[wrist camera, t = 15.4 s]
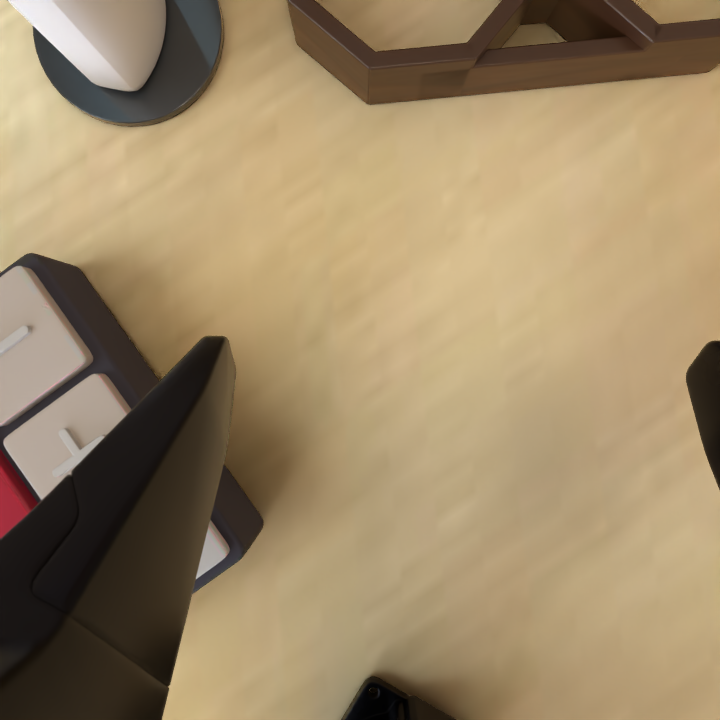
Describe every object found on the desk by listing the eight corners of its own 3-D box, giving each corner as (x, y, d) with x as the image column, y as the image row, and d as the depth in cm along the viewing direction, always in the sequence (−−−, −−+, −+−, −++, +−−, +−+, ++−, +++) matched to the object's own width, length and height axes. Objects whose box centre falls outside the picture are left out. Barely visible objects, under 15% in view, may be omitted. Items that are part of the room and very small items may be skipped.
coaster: (165, 161, 23) (161, 158, 22) (4, 65, 23) (-2, 60, 22) (258, -2, 22) (256, -8, 22) (95, -100, 22) (90, -108, 22)
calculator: (18, 242, 19) (244, 562, 19) (83, 264, 23) (268, 524, 23) (-206, 408, 19) (13, 726, 19) (-101, 400, 24) (80, 659, 23)
